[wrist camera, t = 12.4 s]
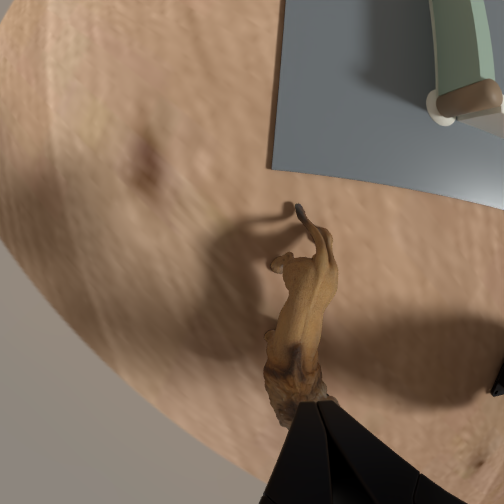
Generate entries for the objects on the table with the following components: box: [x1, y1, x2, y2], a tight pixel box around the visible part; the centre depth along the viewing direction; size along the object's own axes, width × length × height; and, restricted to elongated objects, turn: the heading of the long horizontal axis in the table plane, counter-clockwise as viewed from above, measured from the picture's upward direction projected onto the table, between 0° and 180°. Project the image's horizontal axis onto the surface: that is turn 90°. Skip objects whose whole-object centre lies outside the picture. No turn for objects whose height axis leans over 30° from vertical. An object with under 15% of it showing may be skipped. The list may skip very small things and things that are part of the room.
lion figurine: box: [263, 204, 340, 430], centre depth 17 cm, size 12×4×7 cm, turn 2°
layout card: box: [272, 0, 504, 210], centre depth 16 cm, size 22×20×1 cm
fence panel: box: [432, 0, 503, 118], centre depth 13 cm, size 12×2×5 cm, turn 174°
